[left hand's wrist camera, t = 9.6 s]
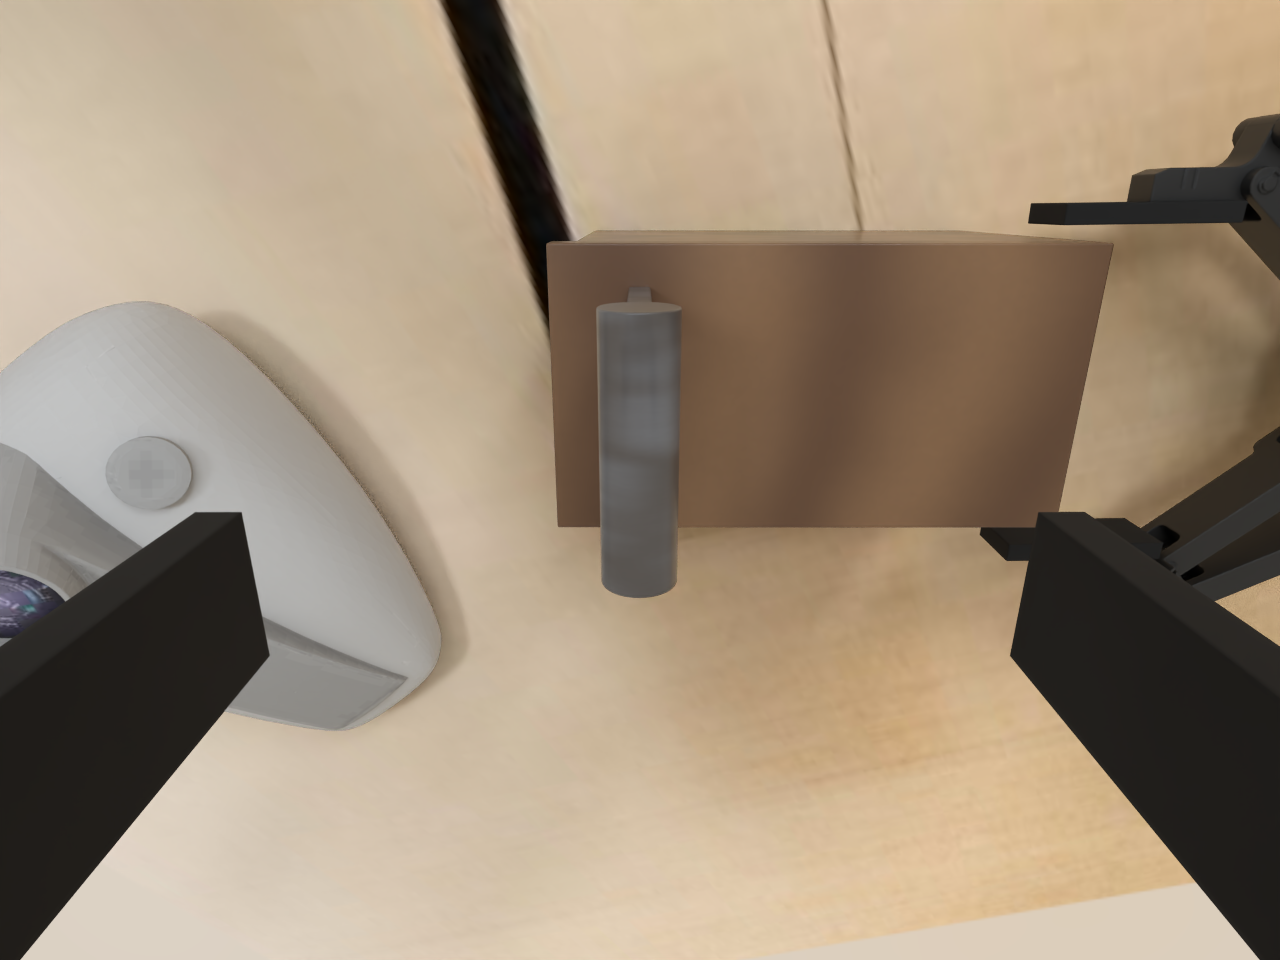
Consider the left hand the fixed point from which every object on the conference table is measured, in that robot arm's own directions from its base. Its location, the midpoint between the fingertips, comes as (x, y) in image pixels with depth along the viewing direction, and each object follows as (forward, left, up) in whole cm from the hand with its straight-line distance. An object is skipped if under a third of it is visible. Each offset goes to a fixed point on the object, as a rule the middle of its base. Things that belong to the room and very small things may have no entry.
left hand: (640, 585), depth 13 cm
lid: (+6, +2, -15) cm, 16 cm away
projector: (-15, -17, -26) cm, 34 cm away
